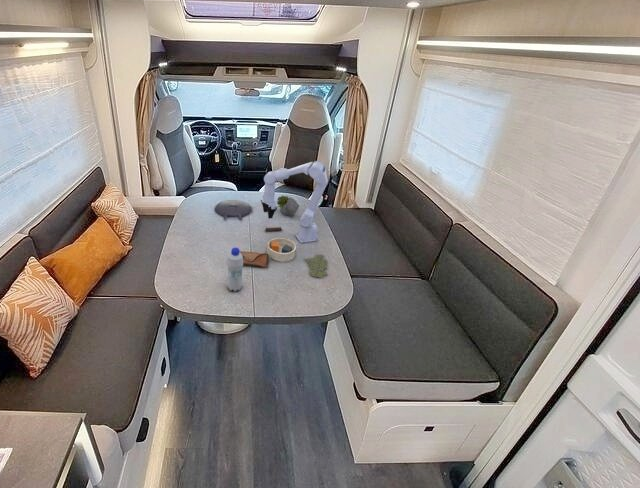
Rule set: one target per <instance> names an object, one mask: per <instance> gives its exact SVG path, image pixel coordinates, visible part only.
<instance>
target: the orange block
mask: <svg viewBox="0 0 640 488" xmlns="http://www.w3.org/2000/svg"><path fill="white" fill-rule="evenodd" d="M271 249H272V250H273V251H276V252H279V242H272V243H271Z"/></svg>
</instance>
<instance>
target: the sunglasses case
mask: <svg viewBox="0 0 640 488" xmlns="http://www.w3.org/2000/svg"><path fill="white" fill-rule="evenodd" d="M240 253H241V254H242V256H243V266H245V267H252V268H265V269H268V266H269V256H268V254H267V252H264V253H262V252H255V251H241V250H240ZM243 266H242V267H243Z"/></svg>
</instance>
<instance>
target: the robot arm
mask: <svg viewBox="0 0 640 488" xmlns="http://www.w3.org/2000/svg"><path fill="white" fill-rule="evenodd" d="M302 173H303V174H305V175H306V176H308V175H309V177H311V178H312V179H313V180H314V181H315V182H316V185H315V187H314V190H313V192H312V195H311V197H310V200H309V202H308V204H307V206H306V209H305V210H304V211H303V212H302V215H301V217H300V218H299V219H298V220H299V222H298V223H299V224H298V233H297V234H295V237H296V238H297V240H298V241H299V242H300V243H301V244H303V243H311V242H317V235H318V225H317V223H315V222H313V220H314V219H315V212H316V210H317V207H318V206H319V203H320V201H321V198H322V197H323V194H324V191H325V189H326V187H327V185H328V183H329V180H328V175H327V167H326V165H325V163H324V162H322V161H321V160H315V161H310V162H307V163H304V164H303V163H302V164H301V165H298V166H295V167H292V168H289V169H288V168H285V167H280V168H279V169H277V170H272V171H268V172H267V173H266V174H265V175H264V176H263V182H264V190H263V192H264V193H263V194H262V199H261V200H260V203H261V206H262V210H263V213H267V217H268V219H273V217H274V215H275V212H276V211H277V210H278V206H276V202H275V201H276V200H275V194H276V192H275V191H276V182H282V181H284V180H287V179H289V178H290V176H294V175H298V174H299V175H300V174H302Z"/></svg>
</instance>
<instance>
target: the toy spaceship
mask: <svg viewBox="0 0 640 488" xmlns="http://www.w3.org/2000/svg"><path fill="white" fill-rule="evenodd" d="M252 210H253V208H252V206H251V205H250V204H249V203H248V202H245V201H243V200H238V199H227V200H224V201H223V200H222V201H221V202H219V203H217V204H216V205H215V207H214V211H215V213H216V214H218V215H219V216H222V218H223V220H226V219H227V218H228V217H236V218H238V220H240V221H242V220H243V218H244V217H246V216H248V215H250V214H251V213H252Z"/></svg>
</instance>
